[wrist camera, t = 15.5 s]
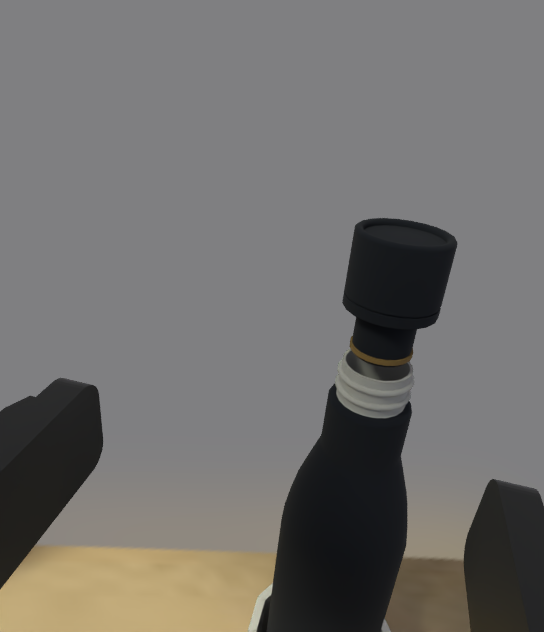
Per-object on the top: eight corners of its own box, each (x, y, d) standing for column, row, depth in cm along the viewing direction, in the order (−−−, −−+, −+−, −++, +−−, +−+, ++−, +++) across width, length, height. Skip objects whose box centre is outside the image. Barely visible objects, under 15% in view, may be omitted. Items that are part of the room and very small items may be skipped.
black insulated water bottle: (336, 623, 36) (432, 210, 23) (377, 726, 30) (534, 259, 17) (249, 644, 34) (298, 207, 21) (276, 758, 28) (366, 262, 15)
